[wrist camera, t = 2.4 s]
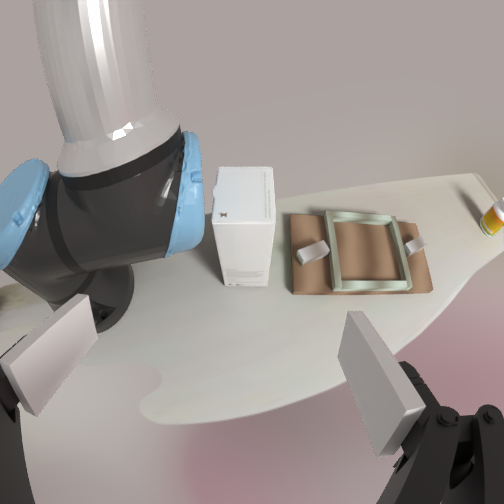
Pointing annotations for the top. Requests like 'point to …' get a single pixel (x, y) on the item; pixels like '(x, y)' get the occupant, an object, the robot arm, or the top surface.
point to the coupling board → (356, 255)
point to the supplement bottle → (493, 219)
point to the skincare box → (244, 224)
